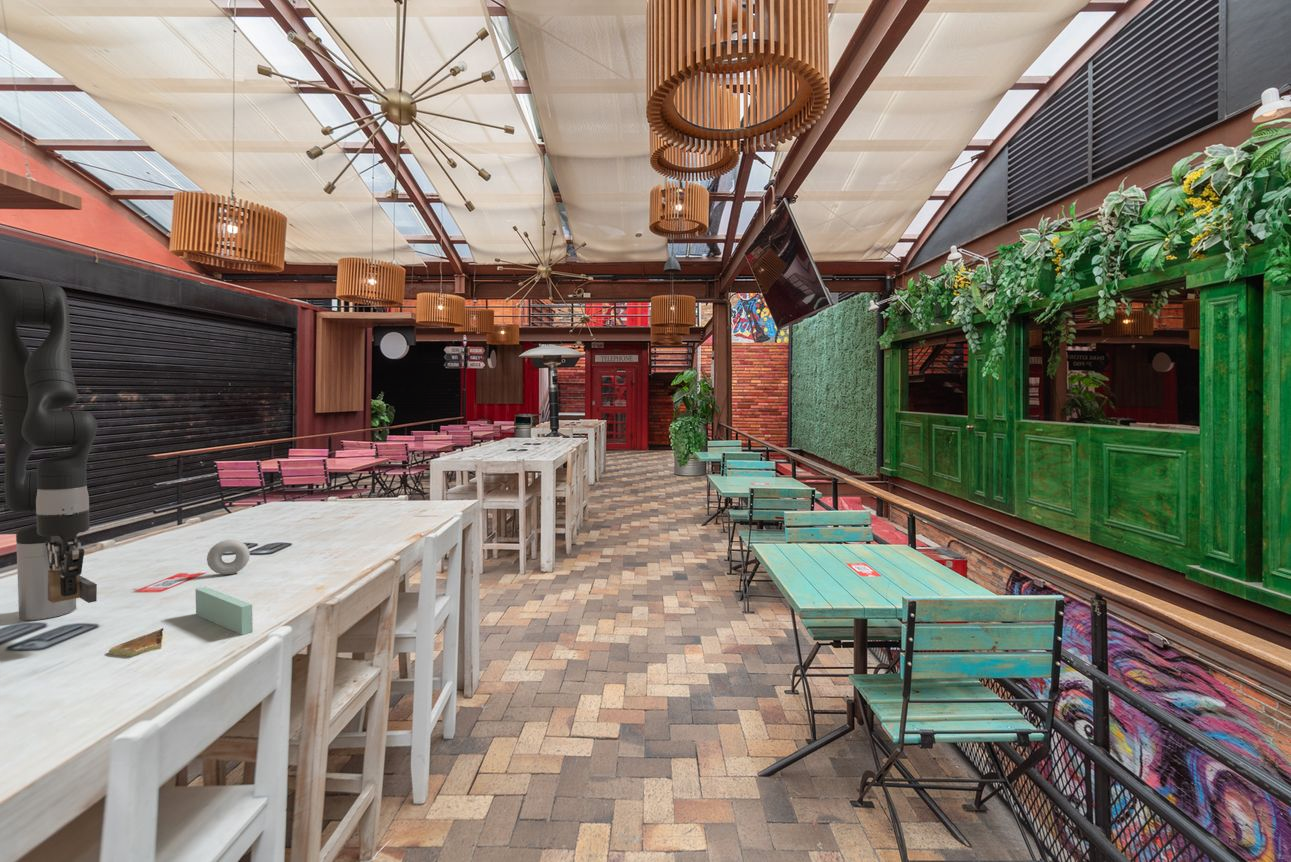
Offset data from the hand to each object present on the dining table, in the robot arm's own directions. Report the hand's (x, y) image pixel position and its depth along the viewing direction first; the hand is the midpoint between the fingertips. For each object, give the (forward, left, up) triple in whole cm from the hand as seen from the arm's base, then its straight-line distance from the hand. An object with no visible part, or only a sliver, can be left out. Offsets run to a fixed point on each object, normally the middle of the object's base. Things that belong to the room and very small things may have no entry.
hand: (66, 592), depth 117 cm
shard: (+15, +7, -11) cm, 19 cm away
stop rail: (+15, +22, -10) cm, 28 cm away
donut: (-26, +40, -10) cm, 48 cm away
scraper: (0, 0, -1) cm, 1 cm away
